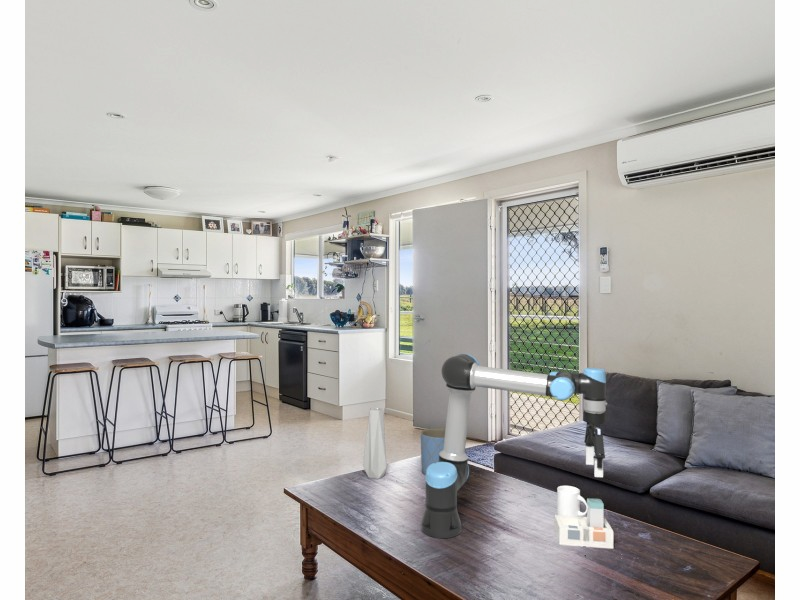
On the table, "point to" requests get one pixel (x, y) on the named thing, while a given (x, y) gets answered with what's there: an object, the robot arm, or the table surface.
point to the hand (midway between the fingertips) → (594, 470)
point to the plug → (594, 512)
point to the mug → (569, 501)
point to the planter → (431, 446)
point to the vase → (375, 445)
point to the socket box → (582, 532)
